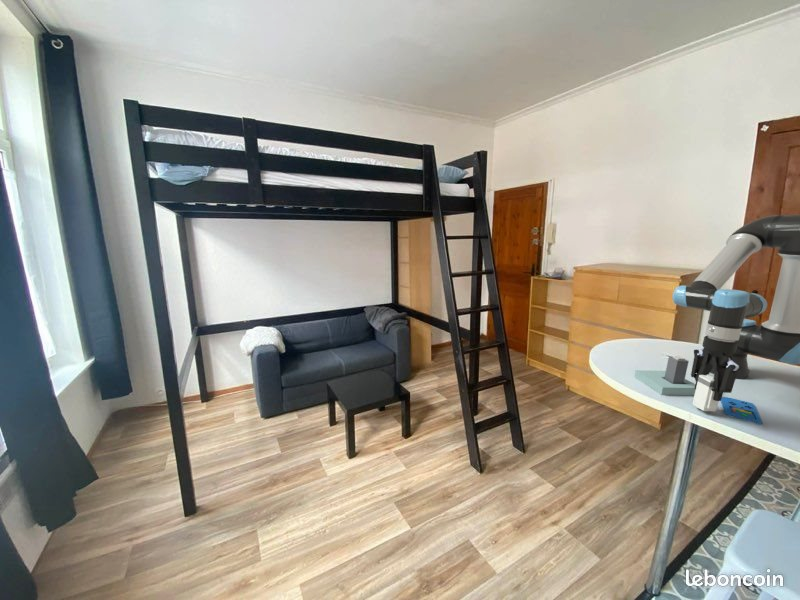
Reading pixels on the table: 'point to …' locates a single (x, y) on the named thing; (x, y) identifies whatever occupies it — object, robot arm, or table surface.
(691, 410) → the table surface
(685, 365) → the plug
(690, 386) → the outlet plate
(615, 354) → the table surface
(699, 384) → the block
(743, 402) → the handheld gaming device
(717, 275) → the robot arm
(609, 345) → the table surface
